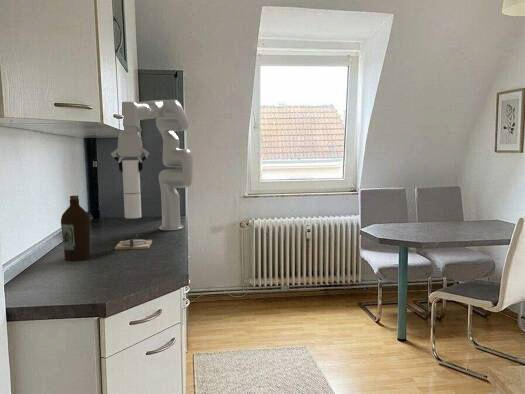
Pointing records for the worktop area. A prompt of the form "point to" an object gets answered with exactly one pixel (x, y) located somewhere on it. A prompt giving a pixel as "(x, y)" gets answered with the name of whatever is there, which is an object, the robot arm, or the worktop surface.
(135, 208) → the cylindrical container
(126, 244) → the locking base
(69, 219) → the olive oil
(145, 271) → the worktop surface
